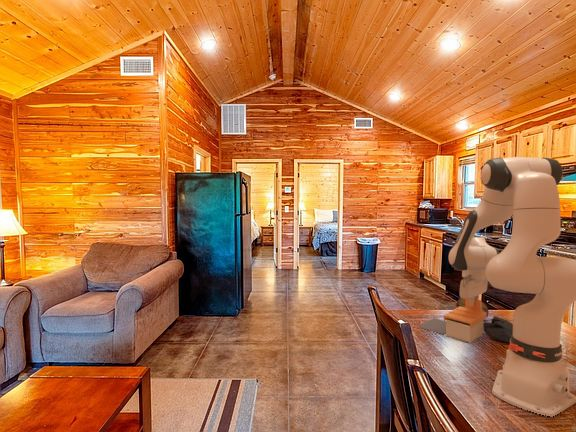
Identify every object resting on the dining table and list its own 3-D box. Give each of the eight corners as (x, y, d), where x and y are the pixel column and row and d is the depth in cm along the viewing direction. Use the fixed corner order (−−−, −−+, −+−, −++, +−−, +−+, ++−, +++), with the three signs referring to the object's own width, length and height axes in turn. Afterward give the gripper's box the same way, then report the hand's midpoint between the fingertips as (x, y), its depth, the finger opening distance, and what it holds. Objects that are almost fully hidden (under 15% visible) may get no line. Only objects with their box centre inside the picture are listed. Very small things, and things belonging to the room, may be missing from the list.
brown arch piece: (455, 312, 159) (456, 296, 159) (460, 311, 160) (460, 295, 160) (485, 322, 145) (485, 304, 145) (489, 321, 147) (489, 303, 146)
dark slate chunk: (484, 341, 126) (484, 329, 126) (481, 323, 145) (482, 313, 145) (532, 350, 118) (532, 337, 118) (522, 330, 138) (523, 319, 137)
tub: (469, 343, 123) (469, 325, 123) (446, 336, 130) (446, 319, 130) (483, 334, 132) (483, 317, 132) (460, 327, 139) (460, 312, 139)
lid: (471, 328, 122) (471, 311, 121) (443, 320, 130) (443, 305, 130) (487, 317, 132) (487, 301, 132) (461, 310, 140) (461, 296, 140)
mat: (443, 335, 131) (443, 334, 131) (416, 327, 140) (416, 326, 140) (459, 326, 141) (459, 325, 141) (434, 318, 150) (434, 318, 150)
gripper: (471, 278, 126) (471, 312, 127) (490, 271, 139) (490, 302, 140) (455, 275, 131) (455, 308, 132) (475, 269, 144) (474, 299, 145)
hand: (473, 305), depth 136 cm, fingers closed on lid
